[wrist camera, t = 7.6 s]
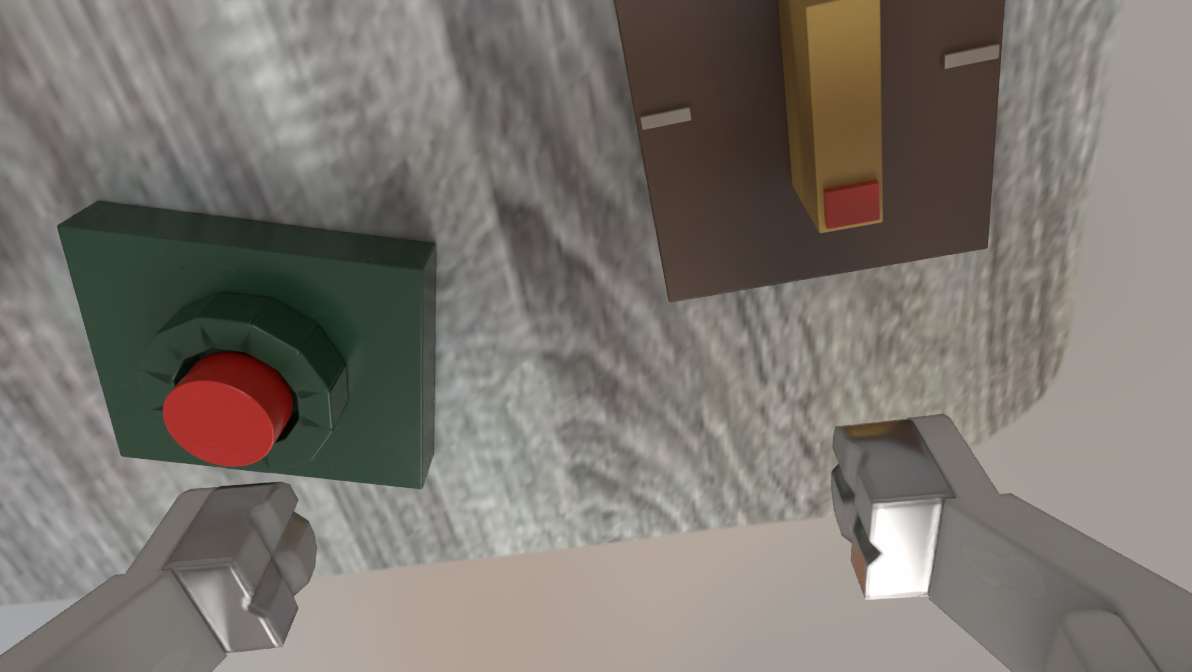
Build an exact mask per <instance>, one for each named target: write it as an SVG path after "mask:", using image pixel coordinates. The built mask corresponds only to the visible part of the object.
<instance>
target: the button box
mask: <svg viewBox="0 0 1192 672" xmlns="http://www.w3.org/2000/svg"><path fill="white" fill-rule="evenodd" d="M57 228H58V232H59V235H60V239H61V242H62V246H63V250H64V253H65V257H66V260H67V264H68V268H69V271H70V275H71V278H72V282H73V286H74V289H75V293H76V296H77V300H78V304H79V307H80V311H81V314H82V318H83V322H84V325H85V329H86V332H87V336H88V340H89V343H90V347H91V350H92V354H93V358H94V361H95V365H96V368H97V372H98V375H99V379H100V383H101V386H102V390H103V393H104V397H105V401H106V404H107V408H108V411H109V415H110V419H111V422H112V426H113V429H114V433H115V437H116V440H117V444H118V447H119V451H120V455H121V456H122V457H131V458H140V459H149V460H158V461H167V462H176V463H186V464H195V465H204V466H213V467H222V468H227V469H236V470H246V471H255V472H264V473H277V474H286V475H295V476H304V477H314V478H323V479H332V480H341V481H350V482H359V483H368V484H377V485H387V486H396V487H405V488H414V489H422V488H423V486H424V483H425V480H426V477H427V474H428V470H429V467H430V464H431V461H432V458H433V455H434V389H435V304H436V244H435V243H428V242H420V241H412V240H403V239H395V238H387V237H379V236H371V235H363V234H355V233H347V232H339V231H331V230H323V229H314V228H306V227H298V226H290V225H282V224H274V223H266V222H258V221H250V220H242V219H234V218H226V217H217V216H209V215H201V214H193V213H185V212H177V211H169V210H161V209H153V208H145V207H137V206H129V205H120V204H112V203H104V202H95V203H93V204H91V205H90V206H88V207H87V208H85V209H83V210H82V211H80V212H78V213H77V214H75V215H73V216H72V217H70V218H69V219H67V220H65V221H64V222H62V223H60V224H59V225H58V226H57ZM218 352H237V353H243V354H246V355H250V356H252V357H255V358H256V359H258V360H260V361H262V362H264V363H265V364H267V365H269V366H271V367H272V368H273V369H275V370H276V371H277V372H278V373H279V374H280V375H281V376H282V378H283V379H284V380H285V382H286V383H287V385H288V387H289V388H290V391H291V394H292V397H293V412H292V415H291V417H290V419H289V421H288V422H287V424H286V426H285V427H284V429H283V430H282V432H281V434H280V435H279V437H278V439H277V440H276V442H275V443H274V445H273V447H272V448H271V450H270V451H269V453H268V454H267V455H266V456H265V457H264V458H262V459H261V460H259V461H257V462H255V463H253V464H249V465H245V466H236V467H231V466H222V465H217V464H213V463H210V462H207V461H204V460H202V459H200V458H198V457H196V456H194V455H192V454H191V453H189V452H188V451H186V450H185V449H184V448H183V447H182V446H180V445H179V444H178V443H177V442H176V441H175V439H174V438H173V437H172V436H171V434H170V432H169V431H168V429H167V427H166V425H165V422H164V417H163V406H164V402H165V400H166V397H167V396H168V394H169V393H170V392H171V391H172V390H173V388H174V387H175V386H176V385H177V384H178V383H179V382H180V381H181V379H182V378H183V377H184V376H185V375H186V374H187V373H188V371H189V370H190V369H191V368H192V367H193V366H194V365H195V364H196V363H197V362H198V361H199V360H200V359H202V358H203V357H205V356H207V355H210V354H213V353H218Z"/></svg>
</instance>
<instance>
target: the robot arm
mask: <svg viewBox="0 0 1192 672" xmlns="http://www.w3.org/2000/svg"><path fill="white" fill-rule="evenodd" d="M833 451H834V453H835V456H836V458H837V461H838V463H839V464H838V465H837V466H836V467H835V468H834V469H833V470H832V471H831V491H832V499H833V508H834V512H835V516H836V520H837V523H838V526H839V529H840V532H841V535H842V536H843V537H844V538H846V539H847V540H849V541H850V542H851V543H852V548H851V562H852V565H853V568H854V571H855V573H856V576H857V579H858V581H859V584H860V587H861V590H862V592H863V595H864V598H865V599H867V600H868V599H884V598H885V599H886V598H903V597H922V596H929V599H930V600H931V601H932V602H933V603H934V604H936V606H938V607H939V608H940V609H941V610H942V611H943V612H944V613H945V614H947V615H948V616H949V617H950V618H951V619H952V620H954V621H955V622H956V623H957V624H958V625H959V626H960V627H961V628H963V629H964V630H965V631H966V632H967V633H968V634H970V635H971V636H972V637H973V638H974V639H975V640H976V641H977V642H979V643H980V644H981V645H982V646H983V647H984V648H985V649H986V650H988V651H989V652H990V653H991V654H992V655H993V656H994V657H995V658H997V659H998V660H999V661H1000V662H1001V663H1002V664H1003V665H1005V666H1006V667H1007V668H1008V669H1009V670H1010V671H1012V672H1192V593H1190V592H1188V591H1187V590H1185V589H1183V588H1181V587H1179V586H1178V585H1176V584H1174V583H1172V582H1170V581H1168V580H1167V579H1165V578H1163V577H1161V576H1159V575H1158V574H1156V573H1154V572H1152V571H1150V570H1149V569H1147V568H1145V567H1143V566H1141V565H1139V564H1138V563H1136V562H1134V561H1132V560H1131V559H1129V558H1127V557H1125V556H1123V555H1122V554H1119V553H1118V552H1116V551H1114V550H1112V549H1111V548H1109V547H1107V546H1105V545H1103V544H1102V543H1100V542H1098V541H1096V540H1094V539H1093V538H1091V537H1089V536H1087V535H1085V534H1084V533H1082V532H1080V531H1078V530H1076V529H1074V528H1073V527H1071V526H1069V525H1067V524H1065V523H1064V522H1062V521H1060V520H1058V519H1056V518H1055V517H1053V516H1051V515H1049V514H1047V513H1046V512H1044V511H1042V510H1040V509H1038V508H1037V507H1035V506H1033V505H1031V504H1029V503H1028V502H1026V501H1024V500H1022V499H1020V498H1018V497H1017V496H1015V495H1013V494H1011V493H1007V494H999V493H998V491H997V490H996V488H995V486H994V485H993V483H992V482H991V481H990V479H989V477H988V476H987V474H986V473H985V471H984V469H983V468H982V466H981V465H980V463H979V462H978V460H977V459H976V457H975V455H974V454H973V452H972V451H971V449H970V448H969V446H968V445H967V443H966V442H965V440H964V438H963V437H962V435H961V434H960V432H959V431H958V429H957V428H956V426H955V425H954V423H953V421H952V420H951V418H950V417H948V416H946V415H945V414H937V415H929V416H921V417H912V418H907V419H901V420H891V421H882V422H872V423H863V424H854V425H844V426H836V427H835V430H834V434H833ZM297 502H298V498H297V496H296V495H295V493H294V491H293V489H292V487H291V485H290V484H287V483H284V482H271V483H258V484H244V485H231V486H220V487H213V488H200V489H189V490H187V491H185V492H184V493H182V494H180V495H179V496H178V498H177V499H176V500H175V502H174V503H173V505H172V506H171V508H170V509H169V511H168V512H167V514H166V515H165V517H164V518H163V519H162V521H161V522H160V524H159V525H158V527H157V528H156V530H155V531H154V533H153V534H152V536H151V537H150V538H149V540H148V541H147V543H146V544H145V546H144V547H143V549H142V550H141V552H140V553H139V555H138V556H137V557H136V559H135V560H134V562H133V563H132V565H131V566H130V568H129V569H128V571H127V572H126V574H119V575H114V576H113V577H111V578H110V579H109V580H107V581H106V582H104V583H103V584H101V585H100V586H99V587H97V588H96V589H94V590H93V591H91V592H90V593H89V594H87V595H86V596H84V597H83V598H81V599H80V600H79V601H77V602H76V603H74V604H73V605H71V606H70V607H69V608H67V609H66V610H64V611H63V612H61V613H60V614H59V615H57V616H56V617H54V618H53V619H52V620H50V621H49V622H47V623H46V624H44V625H43V626H42V627H40V628H39V629H37V630H36V631H34V632H33V633H32V634H30V635H29V636H27V637H26V638H24V639H23V640H21V641H20V642H19V643H17V644H16V645H14V646H13V647H12V648H10V649H9V650H7V651H6V652H4V653H3V654H1V655H0V672H212V671H213V670H214V669H215V668H216V667H217V666H218V665H219V664H220V663H221V662H222V661H223V660H224V659H225V658H226V656H227V655H226V654H225V653H233V652H243V651H252V650H261V649H269V648H279V647H282V646H283V644H284V642H285V639H286V637H287V634H288V632H289V630H290V627H291V625H292V623H293V620H294V618H295V615H296V613H297V611H298V605H297V603H296V601H295V598H294V596H295V595H296V594H297V593H298V592H299V591H300V590H301V589H302V588H304V587H305V586H306V585H307V584H308V583H309V581H310V579H311V576H312V573H313V571H314V568H315V562H316V551H317V545H316V540H315V535H314V532H313V529H312V527H311V525H310V523H309V521H308V520H306V519H305V518H303V517H302V516H300V515H299V514H297V513H295V512H294V510H295V507H296V505H297Z"/></svg>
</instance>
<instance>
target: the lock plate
mask: <svg viewBox="0 0 1192 672" xmlns="http://www.w3.org/2000/svg"><path fill="white" fill-rule="evenodd" d="M614 3H615V9H616V14H617V20H618V25H619V31H620V36H621V42H622V47H623V53H624V58H625V64H626V69H627V75H628V80H629V86H630V91H631V97H632V102H633V108H634V113H635V119H636V124H637V130H638V135H639V141H640V146H641V152H642V157H643V163H644V168H645V174H646V179H647V185H648V190H649V196H650V201H651V207H652V212H653V218H654V223H655V229H656V234H657V240H658V245H659V251H660V256H661V262H662V267H663V273H664V278H665V284H666V289H667V295H668V300H669V302H676V301H682V300H688V299H693V298H699V297H705V296H711V295H717V294H723V293H729V292H735V291H740V290H746V289H752V288H758V287H764V286H770V285H776V284H781V283H787V282H793V281H799V280H805V279H811V278H817V277H823V276H828V275H834V274H840V273H846V272H852V271H858V270H864V269H870V268H875V267H881V266H887V265H893V264H899V263H905V262H911V261H916V260H922V259H928V258H934V257H940V256H946V255H952V254H958V253H963V252H969V251H975V250H981V249H986V248H988V237H989V223H990V208H991V194H992V179H993V165H994V150H995V136H996V121H997V107H998V92H999V78H1000V63H1001V49H1002V34H1003V20H1004V5H1005V0H880V38H881V116H882V194H883V221H882V222H880V223H874V224H869V225H863V226H858V227H852V228H847V229H841V230H835V231H830V232H824V233H819V231H818V229H817V227H816V226H815V224H814V222H813V220H812V219H811V217H810V215H809V214H808V212H807V210H806V208H805V207H804V205H803V203H802V201H801V200H800V198H799V196H798V194H797V193H796V191H795V189H794V187H793V186H792V174H791V161H790V149H789V136H788V123H787V110H786V98H785V85H784V72H783V59H782V47H781V34H780V21H779V8H778V0H614Z"/></svg>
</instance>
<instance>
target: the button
mask: <svg viewBox="0 0 1192 672" xmlns="http://www.w3.org/2000/svg"><path fill="white" fill-rule="evenodd" d="M292 412H293V397H292V394H291V391H290V388H289V387H288V385H287V383H286V382H285V380H284V379H283V378H282V376H281V375H280V374H279V373H278V372H277V371H276V370H275V369H273V368H272V367H271V366H269V365H267V364H265V363H264V362H262V361H260V360H258V359H256V358H255V357H252V356H250V355H246V354H243V353H237V352H218V353H213V354H210V355H207V356H205V357H203V358H202V359H200V360H199V361H198V362H197V363H196V364H195V365H194V366H193V367H192V368H191V369H190V370H189V371H188V373H187V374H186V375H185V376H184V377H183V378H182V379H181V381H180V382H179V383H178V384H177V385H176V386H175V387H174V388H173V390H172V391H171V392H170V393H169V394H168V396H167V397H166V400H165V402H164V406H163V417H164V422H165V425H166V427H167V429H168V431H169V432H170V434H171V436H172V437H173V438H174V439H175V441H176V442H177V443H178V444H179V445H180V446H182V447H183V448H184V449H185V450H186V451H188V452H189V453H191V454H192V455H194V456H196V457H198V458H200V459H202V460H204V461H207V462H210V463H213V464H217V465H222V466H231V467H236V466H245V465H249V464H253V463H255V462H257V461H259V460H261V459H262V458H264V457H265V456H266V455H267V454H268V453H269V451H270V450H271V448H272V447H273V445H274V443H275V442H276V440H277V439H278V437H279V435H280V434H281V432H282V430H283V429H284V427H285V426H286V424H287V422H288V421H289V419H290V417H291V415H292Z"/></svg>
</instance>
